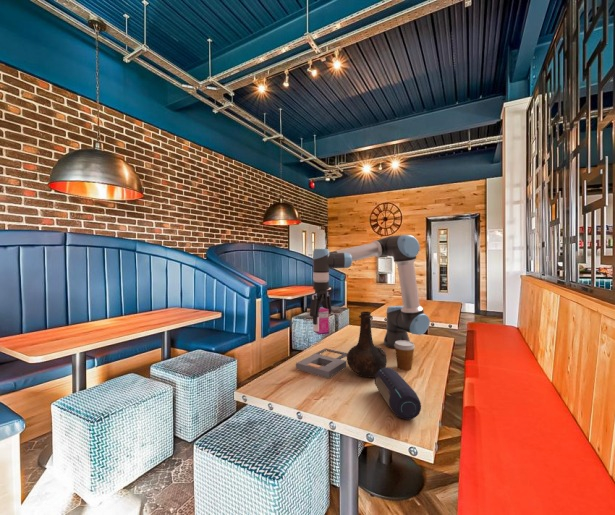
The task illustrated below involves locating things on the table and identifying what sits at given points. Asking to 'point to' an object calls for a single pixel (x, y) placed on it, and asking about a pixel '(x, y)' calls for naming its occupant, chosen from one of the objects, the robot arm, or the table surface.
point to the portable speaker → (397, 393)
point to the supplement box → (323, 321)
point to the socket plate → (325, 371)
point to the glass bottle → (366, 351)
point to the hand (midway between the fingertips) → (321, 329)
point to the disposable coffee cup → (404, 354)
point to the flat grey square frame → (335, 352)
